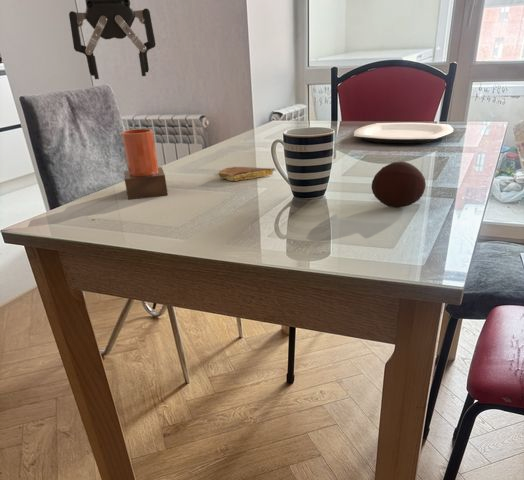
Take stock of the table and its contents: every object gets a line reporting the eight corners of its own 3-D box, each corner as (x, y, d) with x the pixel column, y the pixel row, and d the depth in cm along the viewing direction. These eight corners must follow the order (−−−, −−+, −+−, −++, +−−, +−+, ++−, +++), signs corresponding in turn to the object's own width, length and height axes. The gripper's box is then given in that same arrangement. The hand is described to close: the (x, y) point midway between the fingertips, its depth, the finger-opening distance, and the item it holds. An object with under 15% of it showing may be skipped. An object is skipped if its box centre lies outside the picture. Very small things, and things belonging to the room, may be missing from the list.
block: (128, 199, 103) (124, 179, 101) (127, 190, 109) (123, 170, 107) (167, 195, 104) (164, 175, 102) (164, 185, 111) (161, 166, 109)
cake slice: (275, 175, 114) (274, 167, 113) (261, 183, 108) (261, 175, 107) (231, 173, 118) (231, 165, 117) (216, 181, 112) (215, 172, 111)
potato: (417, 216, 85) (423, 168, 81) (363, 211, 88) (366, 165, 84) (427, 203, 91) (433, 158, 87) (376, 199, 94) (379, 155, 90)
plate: (370, 128, 160) (370, 121, 159) (459, 130, 150) (460, 123, 148) (341, 144, 140) (342, 136, 139) (442, 148, 129) (443, 140, 128)
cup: (129, 177, 102) (121, 135, 97) (129, 171, 107) (121, 130, 102) (159, 174, 103) (153, 132, 99) (157, 168, 108) (151, 127, 103)
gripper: (144, -30, 90) (157, 74, 98) (60, -28, 87) (81, 78, 96) (146, -35, 84) (160, 76, 92) (56, -34, 81) (79, 81, 90)
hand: (120, 77), depth 94 cm, fingers open, 8 cm apart
